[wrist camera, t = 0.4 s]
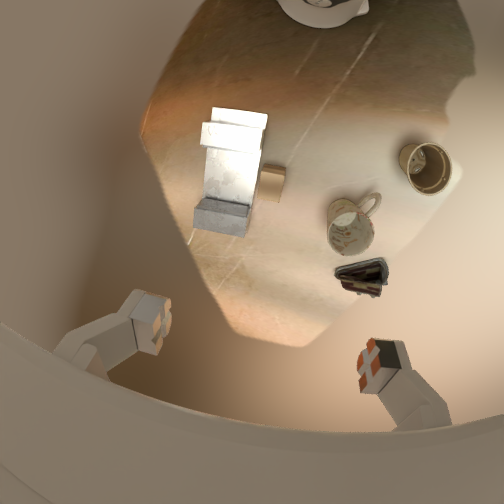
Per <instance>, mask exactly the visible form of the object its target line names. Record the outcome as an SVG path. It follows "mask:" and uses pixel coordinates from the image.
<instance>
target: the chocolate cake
mask: <svg viewBox="0 0 504 504" xmlns="http://www.w3.org/2000/svg"><path fill="white" fill-rule="evenodd" d="M388 275H389V272H388V266H387V264H386V262H385V261H384V260H383V259H381V258H377V259H373V260H368V261H365V262H360V263H356V264H354V265H349V266H345V267H340V268H339V269H337V270H335V274H334V276H335V277H336V278H337V279H339V280H341V284H342V287H343V288H344V289H345V290H348V291H353V292H357V295H361V294H362V293H363V294H369V295H370V296H371V297H372V298H375V297H380V295H381V291H382V285H388V283H387V278H388Z"/></svg>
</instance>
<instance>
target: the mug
mask: <svg viewBox="0 0 504 504" xmlns="http://www.w3.org/2000/svg"><path fill="white" fill-rule="evenodd" d="M372 198H375V199H376V201H375V204H374V206H373V207H372V208H371V209H370V210H369V211H368V212H367V213H366V214H364V213H363V212H362V211H361V210H360V209H359V208H360V207H361V206H362V205H363V204H364V203H366V202H367V201H368V200H370V199H372ZM381 199H382V197H381V194H380V193H372V194H370V195H368V196H366V197H365V198H364V199H363V200H362V201H361V202H360V203H359V204H358V206H356V205H355V204H353V203H352V202H351V201H349V200H346V199H340V200H337V201H335V202H333V203H332V204H331V206H330V207H329V210H328V220H327V239H328V243H329V245H330V247H331V248H332V249H333V250H334V251H335V252H336V253H338V254H340V255H343V256H356V255H359V254H361V253H363V252H364V251H365V250H367V249H368V248H369V246H370V245H371V243H372V241H373V238H374V227H373V224H372V222H371V220H370V219H369V217H370V216H371V215H372V214H373V213H374V212H375V211H376V210H377V209H378V207H379V206H380V203H381Z"/></svg>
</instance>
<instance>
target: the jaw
mask: <svg viewBox="0 0 504 504" xmlns="http://www.w3.org/2000/svg"><path fill="white" fill-rule="evenodd" d="M250 212H251V209H249V206H244V205H239V204H234V203H228V202H223V201H217V200H212V199H206V198H203V199H202V200H201V201H200V202H199V204H198V205H197V206H196V207H195V208H194V220H193V228H198V229H203V230H208V231H213V232H218V233H223V234H228V235H233V236H238V237H243V238H244V237H245V234H246V231H247V228H248V224H249V218H250Z"/></svg>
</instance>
